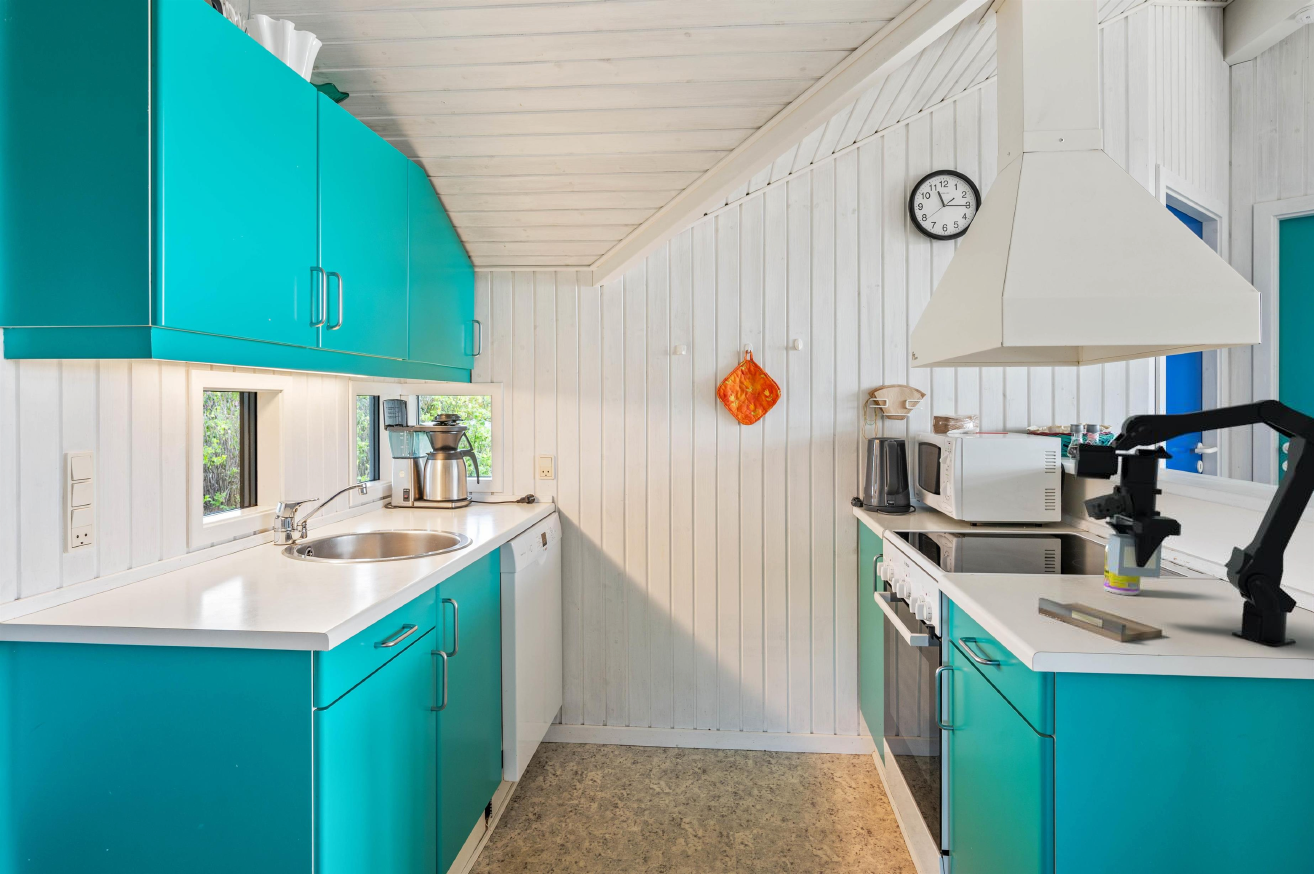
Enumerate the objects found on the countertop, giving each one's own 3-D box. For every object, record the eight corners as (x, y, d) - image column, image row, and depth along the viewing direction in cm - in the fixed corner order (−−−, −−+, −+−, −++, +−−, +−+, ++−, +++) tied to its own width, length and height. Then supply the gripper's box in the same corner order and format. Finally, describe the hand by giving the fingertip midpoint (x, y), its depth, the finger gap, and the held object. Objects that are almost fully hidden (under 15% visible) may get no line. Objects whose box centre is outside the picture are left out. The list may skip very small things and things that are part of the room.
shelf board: (1076, 608, 139) (1076, 593, 139) (1161, 636, 123) (1162, 619, 123) (1037, 612, 136) (1038, 597, 136) (1120, 642, 120) (1121, 625, 120)
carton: (1106, 569, 133) (1108, 533, 133) (1146, 571, 132) (1149, 535, 131) (1118, 575, 128) (1120, 538, 128) (1160, 578, 127) (1162, 540, 127)
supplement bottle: (1105, 586, 157) (1108, 530, 156) (1140, 591, 153) (1143, 534, 152) (1101, 592, 152) (1104, 534, 151) (1138, 598, 147) (1141, 538, 147)
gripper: (1070, 474, 140) (1066, 550, 141) (1114, 486, 121) (1109, 573, 122) (1131, 476, 138) (1127, 554, 139) (1185, 488, 119) (1179, 577, 120)
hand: (1133, 564), depth 130 cm, fingers closed on carton, 5 cm apart
